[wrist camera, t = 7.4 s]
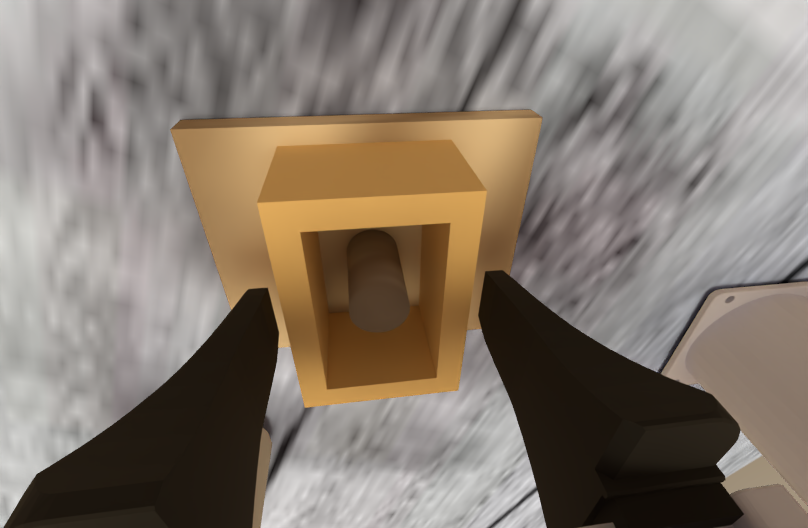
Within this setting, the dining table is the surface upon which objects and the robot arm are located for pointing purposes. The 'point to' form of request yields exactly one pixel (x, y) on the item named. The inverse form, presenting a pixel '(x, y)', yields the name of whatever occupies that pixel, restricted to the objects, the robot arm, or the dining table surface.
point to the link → (369, 208)
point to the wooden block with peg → (353, 248)
